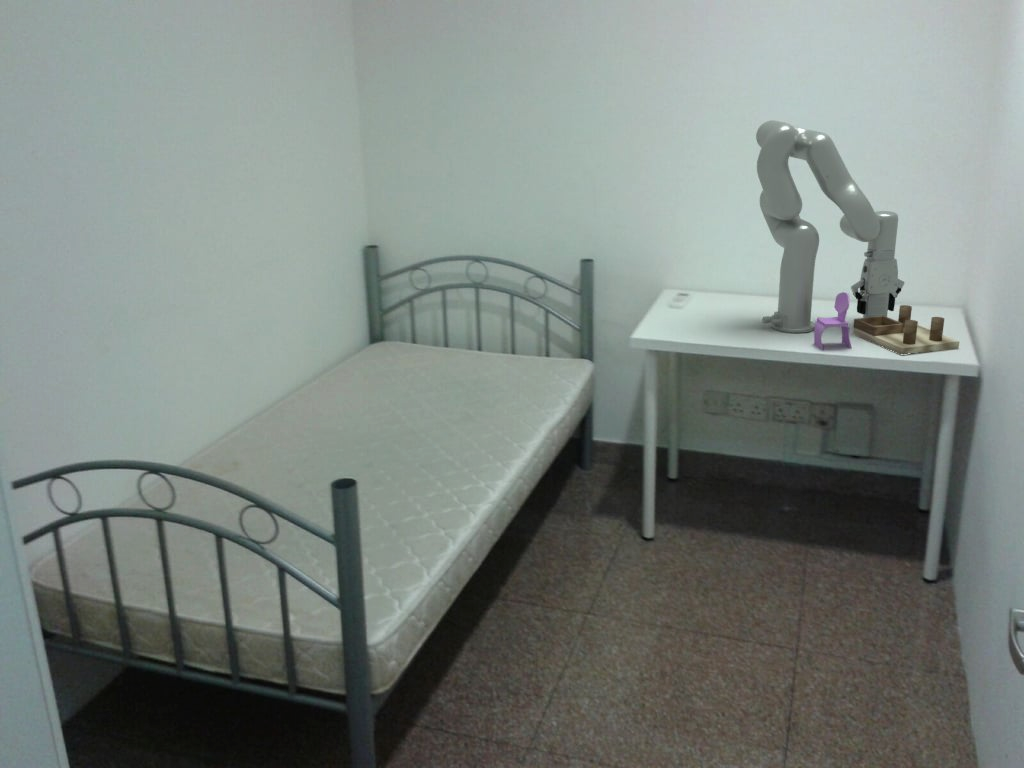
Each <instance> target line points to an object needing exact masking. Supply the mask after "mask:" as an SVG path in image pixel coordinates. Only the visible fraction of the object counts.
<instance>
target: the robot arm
mask: <svg viewBox="0 0 1024 768" xmlns="http://www.w3.org/2000/svg"><path fill="white" fill-rule="evenodd" d="M755 139H756V144H757V145H758V146H759V147H760V150H759V154H758V158H757V161H756V173H757V176H758V179H759V182H760V186H761V188H762V191H761V193H760V195H759V206H760V207H759V208H760V210H761V212H762V215H763V218H764V220H765V222H766V224H767V227H768V229H769V231H770V234H771V236H772V238H773V240H774V241H775V243H776V244H778V245H779V246H780V247H782V248H783V254H782V258H781V262H780V269H779V271H780V272H779V284H778V285H779V288H778V289H779V290H778V299H777V300H778V304H777V311H773V312H774V313H773V314H772V315H771V316H769V315H768V316H762V318H761V322H762V323H763V324H771V328H773V330H776V331H780V332H783V333H795V334H800V333H801V334H802V333H809V332H812V331H813V332H814V330H815V323H816V322H813V321H812V320H811V319H812V308H813V307H812V306H813V295H814V294H813V293H814V281H815V279H814V278H815V267H816V260H817V254H818V250H819V246H820V234H819V231H818V229H817V228H816V227H815V225H813V223H811V222H809V221H807V220H804V219H803V218H802V219H801V216H800V215H801V212H802V210H803V201H802V197H801V195H800V193H799V190H798V188H797V186H796V183H795V181H794V178H793V176H792V174H791V173H792V172H791V170H790V167H789V159H790V158H794V159H799V160H802V161H805V162H806V163H807V165H808V167H809V169H810V171H811V172H812V174H813V176H814V178H815V180H816V182H817V184H818V186H819V188H820V190H821V191H822V193H823V194H824V195H825V196H826V197H827V198H828V199H829V200H830V201H831V202H833V204H835V205H836V206H837V207H838V208H839V210H841V213H843V216H842V217H841V218H840V221H839V228H840V230H841V232H842V233H843V234H844V235H845V236H848V237H850V238H851V239H855V240H857V241H858V242H860V243H861V242H862V243H867V249H866V251H865V252H864V254H863V255H864V257H865V259H864V262H863V265H862V268H861V274H860V278H859V279H860V280H859V281H857V282H856V283H854V284H853V285H851V286H850V289H851V291H852V295H853V296H854V298H855V299H856V300H857V302H856V304H857V305H856V313H858V314H861V315H863V314H865V312H866V301H864V300H865V299H866V298H867V297H868V295H879V294H885V293H888V288H889V286H890V290H889V301H888V311H890V312H894V310H895V305H896V298H898V296H899V294H900V293H901V292H902V289H903V287H904V285H905V282H904V281H903V280H901V279H899V269H898V266H899V265H898V260H897V258H895V256H896V255H895V254H896V244H897V235H898V226H899V215H898V214H897V213H896V212H894V211H891V210H890V211H888V210H879V211H878V210H877V211H875V210H874V208H873V206H872V205H871V203H870V201H869V199H868V198H867V197H866V195H865V193H864V192H863V191H862V190H861V187H859V185H858V184H857V182H856V181H855V180H854V179H853V177H852V176H851V174H850V172H849V170H848V168H847V167H846V164H845V161H843V159H842V157H841V155H840V153H839V151H838V148H837V147H836V145H835V142H834V141H833V139H832V138H831V137H830V136H829V135H828V133H827V134H826V133H825V132H821V131H817V130H812V129H807V128H802V127H798V126H796V125H795V126H794V125H791V124H790V123H788V122H787V123H786V122H783V121H779V120H768V121H764V122H763V123H762V124H761V125H760V126H759V127H758V129H757V131H756V133H755Z"/></svg>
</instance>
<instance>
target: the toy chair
mask: <svg viewBox="0 0 1024 768" xmlns="http://www.w3.org/2000/svg"><path fill="white" fill-rule="evenodd" d="M849 307H850V294H849V293H848V292H845V291H843V292H840V293H838V294H837V295H836V296H835V301H834V310H835V311H836V312H837V316H833V317H816V321H815V322H814V323H815V329H814V330H813V333H814V336H813V341H814V342H813V343H814V344H815V346H817V347H818V348H819V349H820V350H822V351H824V346H823V341H822V338H823V337H822V336H823V333H824V331H825V329H827V328H835V327H840V329H841V343H842V344H843V345H845V346H846V347H848V348H849V349H851V350H853V349H852V348H853V347H852V342H851V340H850V330H851V329H850V327H849V322H848V321H846V318H847V313H848V312H847V311H848V310H849Z"/></svg>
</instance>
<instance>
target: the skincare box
mask: <svg viewBox="0 0 1024 768" xmlns="http://www.w3.org/2000/svg"><path fill="white" fill-rule="evenodd" d="M889 290H890V286H889V288H888V293H885V294H879V295H868V297H867V298H866V299H865V300H864V301H866V312H865V314H862V318H867V317H876V316H885V317H888V311H889V310H888V301H889Z"/></svg>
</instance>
